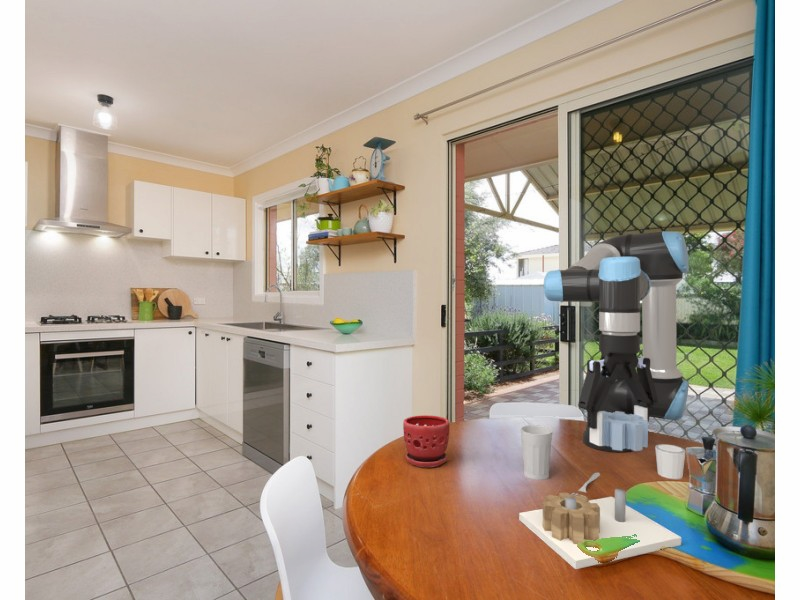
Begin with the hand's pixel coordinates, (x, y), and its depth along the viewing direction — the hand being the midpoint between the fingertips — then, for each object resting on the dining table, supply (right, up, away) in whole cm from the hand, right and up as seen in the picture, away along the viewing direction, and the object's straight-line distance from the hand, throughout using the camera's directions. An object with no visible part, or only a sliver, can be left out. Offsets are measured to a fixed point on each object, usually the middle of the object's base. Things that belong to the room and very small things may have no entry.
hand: (618, 440), depth 94 cm
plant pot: (-37, -17, +37) cm, 55 cm away
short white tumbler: (+26, -17, +26) cm, 41 cm away
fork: (+2, -18, +21) cm, 28 cm away
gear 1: (-11, -17, -3) cm, 20 cm away
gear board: (-5, -18, -1) cm, 19 cm away
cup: (-9, -17, +27) cm, 33 cm away
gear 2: (0, 0, 0) cm, 0 cm away
